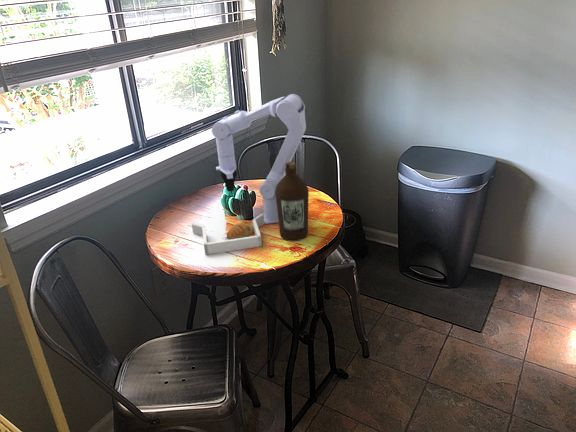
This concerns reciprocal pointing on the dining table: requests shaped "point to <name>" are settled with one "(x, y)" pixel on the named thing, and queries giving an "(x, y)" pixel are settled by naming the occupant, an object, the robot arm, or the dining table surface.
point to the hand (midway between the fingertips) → (230, 190)
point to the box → (232, 243)
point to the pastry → (240, 230)
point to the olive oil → (292, 205)
